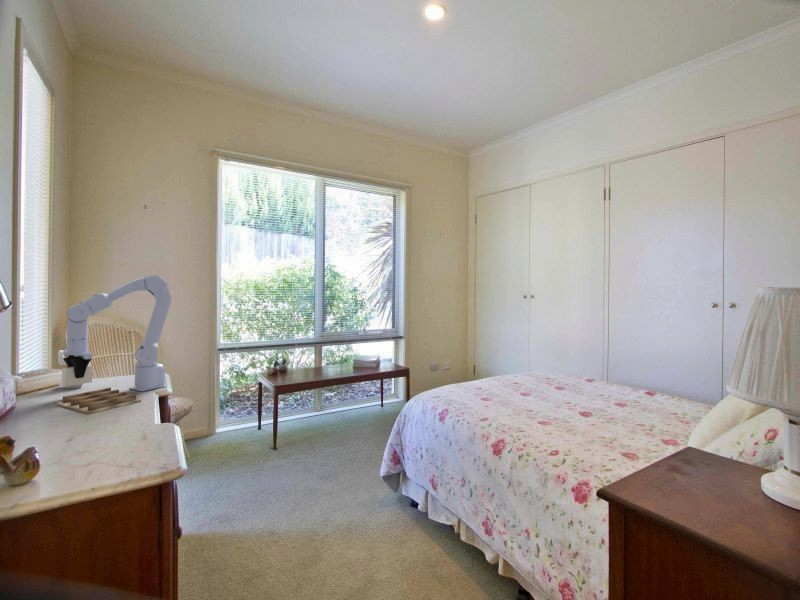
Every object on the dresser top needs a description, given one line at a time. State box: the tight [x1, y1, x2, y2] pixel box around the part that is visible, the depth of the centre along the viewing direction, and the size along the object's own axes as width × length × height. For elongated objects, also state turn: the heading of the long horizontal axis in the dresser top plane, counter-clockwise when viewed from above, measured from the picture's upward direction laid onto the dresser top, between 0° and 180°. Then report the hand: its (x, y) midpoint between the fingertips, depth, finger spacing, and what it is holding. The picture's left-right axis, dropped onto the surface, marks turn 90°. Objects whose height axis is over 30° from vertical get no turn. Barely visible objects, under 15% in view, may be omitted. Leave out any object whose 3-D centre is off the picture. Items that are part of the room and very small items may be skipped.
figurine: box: [57, 349, 91, 390], centre depth 148 cm, size 7×9×15 cm
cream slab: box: [60, 364, 93, 388], centre depth 136 cm, size 8×2×6 cm, turn 155°
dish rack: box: [56, 387, 142, 415], centre depth 130 cm, size 16×18×3 cm
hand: (77, 377), depth 136 cm, fingers closed on cream slab, 2 cm apart
